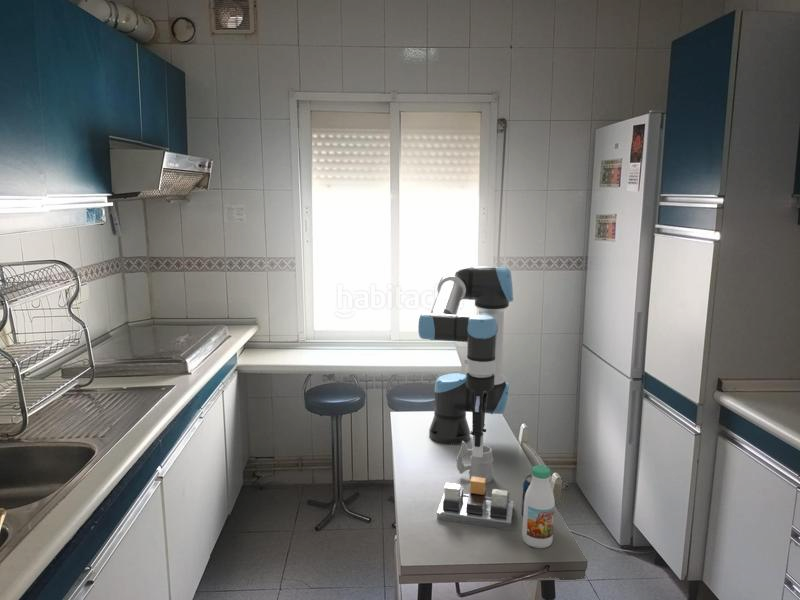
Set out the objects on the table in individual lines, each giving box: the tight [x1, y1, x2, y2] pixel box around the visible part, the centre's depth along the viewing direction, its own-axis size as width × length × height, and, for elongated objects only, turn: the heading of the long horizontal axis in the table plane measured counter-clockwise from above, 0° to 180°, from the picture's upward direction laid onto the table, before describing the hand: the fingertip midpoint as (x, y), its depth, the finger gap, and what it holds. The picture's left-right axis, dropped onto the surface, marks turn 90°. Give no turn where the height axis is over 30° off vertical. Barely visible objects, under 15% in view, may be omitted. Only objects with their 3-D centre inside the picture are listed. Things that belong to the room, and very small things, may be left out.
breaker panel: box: [436, 482, 514, 531], centre depth 163 cm, size 12×20×9 cm, turn 76°
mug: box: [455, 441, 494, 484], centre depth 183 cm, size 8×12×12 cm, turn 84°
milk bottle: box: [521, 464, 556, 549], centre depth 149 cm, size 8×8×20 cm
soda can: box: [521, 474, 533, 518], centre depth 159 cm, size 7×7×12 cm
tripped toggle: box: [469, 477, 487, 495], centre depth 165 cm, size 3×4×4 cm
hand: (477, 455), depth 159 cm, fingers closed
